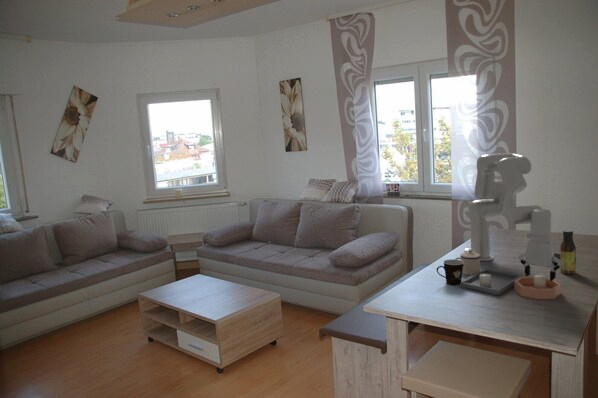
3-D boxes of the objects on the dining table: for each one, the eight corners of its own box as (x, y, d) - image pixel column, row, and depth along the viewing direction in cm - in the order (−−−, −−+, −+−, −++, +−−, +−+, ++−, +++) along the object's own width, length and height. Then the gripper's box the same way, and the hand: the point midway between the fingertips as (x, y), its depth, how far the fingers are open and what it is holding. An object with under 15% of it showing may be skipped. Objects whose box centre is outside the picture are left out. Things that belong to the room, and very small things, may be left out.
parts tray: (460, 287, 200) (460, 282, 199) (485, 273, 216) (485, 268, 215) (498, 296, 187) (498, 290, 187) (522, 280, 203) (522, 275, 203)
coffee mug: (463, 280, 209) (463, 259, 207) (464, 286, 201) (463, 265, 199) (437, 279, 213) (437, 259, 211) (436, 285, 204) (436, 264, 203)
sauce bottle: (577, 274, 206) (579, 232, 203) (563, 274, 207) (563, 232, 204) (572, 270, 212) (573, 229, 209) (557, 270, 214) (558, 229, 211)
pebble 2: (531, 288, 191) (531, 276, 190) (535, 285, 194) (536, 273, 194) (543, 290, 188) (543, 278, 187) (547, 287, 191) (547, 275, 190)
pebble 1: (477, 286, 198) (477, 275, 197) (482, 283, 201) (482, 273, 200) (488, 288, 194) (487, 277, 193) (492, 285, 197) (492, 274, 196)
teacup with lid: (482, 271, 220) (481, 248, 218) (478, 276, 212) (478, 252, 211) (456, 268, 226) (456, 246, 224) (452, 274, 218) (452, 250, 217)
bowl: (509, 293, 190) (509, 284, 189) (524, 282, 200) (524, 274, 200) (550, 302, 178) (550, 292, 177) (564, 290, 189) (564, 281, 188)
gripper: (515, 237, 192) (515, 276, 194) (559, 243, 179) (559, 284, 182) (522, 234, 197) (522, 271, 199) (566, 239, 184) (565, 279, 187)
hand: (539, 277), depth 190 cm, fingers open, 9 cm apart
